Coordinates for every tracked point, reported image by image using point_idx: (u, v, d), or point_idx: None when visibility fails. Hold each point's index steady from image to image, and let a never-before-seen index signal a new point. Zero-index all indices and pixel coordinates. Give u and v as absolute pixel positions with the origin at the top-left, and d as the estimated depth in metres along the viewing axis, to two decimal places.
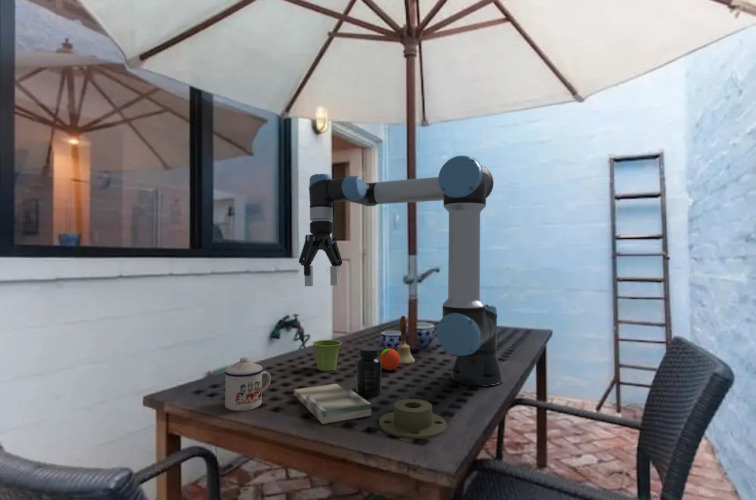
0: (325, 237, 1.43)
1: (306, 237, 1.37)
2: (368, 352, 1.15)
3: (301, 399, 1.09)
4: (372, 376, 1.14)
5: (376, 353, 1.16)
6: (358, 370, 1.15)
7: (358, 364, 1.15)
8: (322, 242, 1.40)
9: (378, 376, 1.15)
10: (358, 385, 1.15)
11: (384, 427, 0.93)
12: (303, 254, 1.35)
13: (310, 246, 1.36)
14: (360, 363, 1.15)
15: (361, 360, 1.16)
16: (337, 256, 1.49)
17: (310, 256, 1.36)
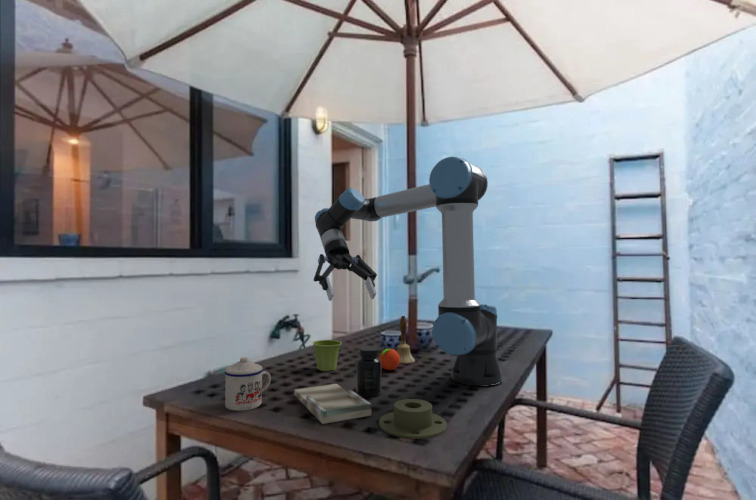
0: (342, 255, 1.37)
1: (318, 260, 1.34)
2: (368, 352, 1.15)
3: (301, 399, 1.09)
4: (372, 376, 1.14)
5: (376, 353, 1.16)
6: (358, 370, 1.15)
7: (358, 364, 1.15)
8: (336, 258, 1.34)
9: (378, 376, 1.15)
10: (358, 385, 1.15)
11: (384, 427, 0.93)
12: None
13: (321, 263, 1.31)
14: (360, 363, 1.15)
15: (361, 360, 1.16)
16: (368, 270, 1.37)
17: (324, 272, 1.30)
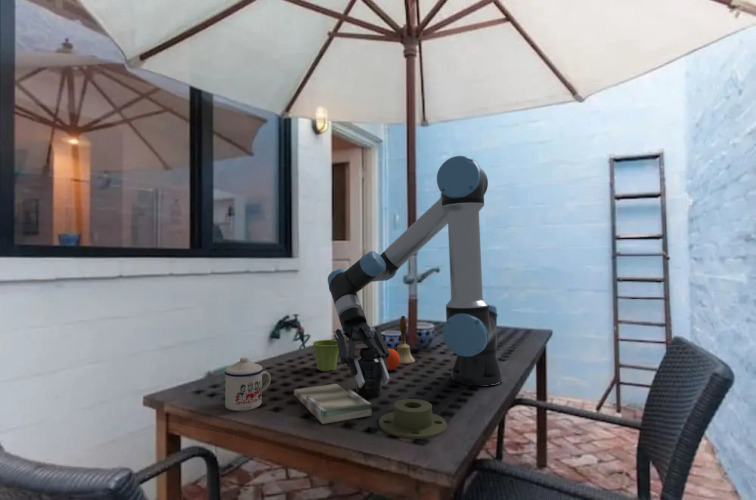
0: (359, 323, 1.26)
1: (335, 336, 1.22)
2: (368, 352, 1.15)
3: (301, 399, 1.09)
4: (372, 376, 1.14)
5: (376, 353, 1.16)
6: None
7: None
8: (354, 330, 1.22)
9: (378, 376, 1.15)
10: None
11: (384, 427, 0.93)
12: (340, 353, 1.17)
13: (342, 341, 1.19)
14: (360, 363, 1.15)
15: (361, 360, 1.16)
16: (381, 346, 1.23)
17: (350, 352, 1.18)
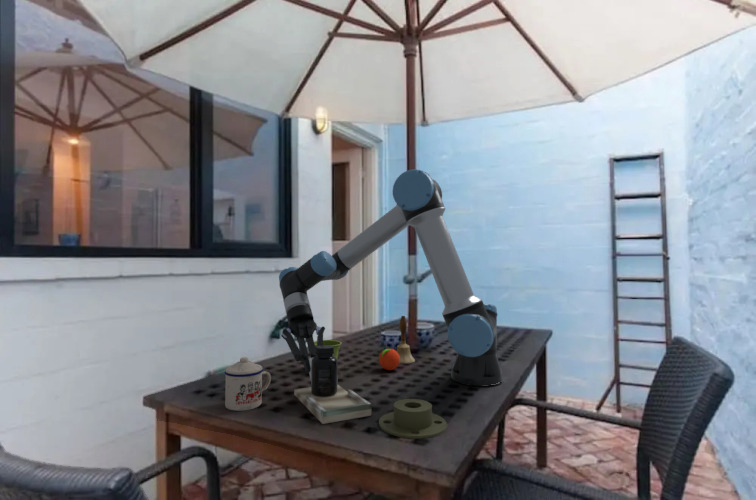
0: (307, 319, 1.28)
1: (283, 336, 1.23)
2: (323, 350, 1.10)
3: (301, 399, 1.09)
4: (326, 375, 1.09)
5: (331, 351, 1.11)
6: (312, 369, 1.10)
7: (312, 362, 1.10)
8: (300, 328, 1.24)
9: (333, 375, 1.10)
10: (312, 384, 1.10)
11: (384, 427, 0.93)
12: (293, 352, 1.20)
13: (291, 339, 1.21)
14: (314, 362, 1.10)
15: (316, 358, 1.11)
16: (318, 345, 1.23)
17: (302, 350, 1.21)
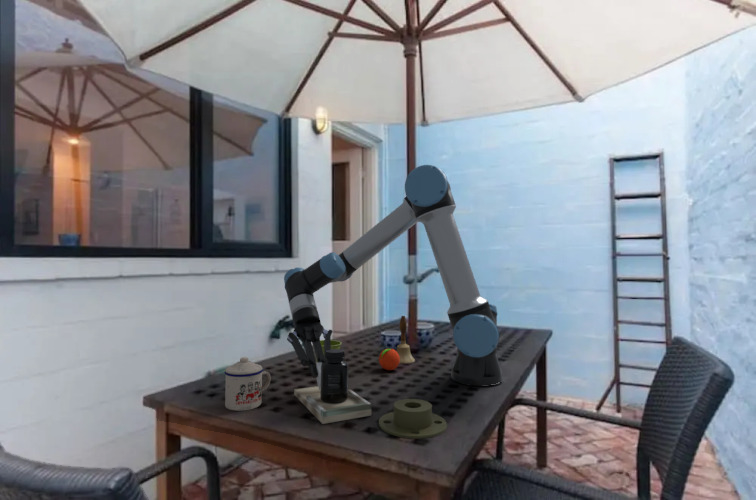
0: (313, 322, 1.23)
1: (289, 340, 1.18)
2: (333, 354, 1.05)
3: (301, 399, 1.09)
4: (336, 381, 1.04)
5: (342, 356, 1.06)
6: (322, 374, 1.06)
7: (322, 367, 1.06)
8: (307, 331, 1.19)
9: (343, 381, 1.05)
10: (321, 390, 1.05)
11: (384, 427, 0.93)
12: (300, 356, 1.15)
13: (298, 343, 1.16)
14: (324, 366, 1.05)
15: (325, 363, 1.06)
16: None
17: (309, 354, 1.15)
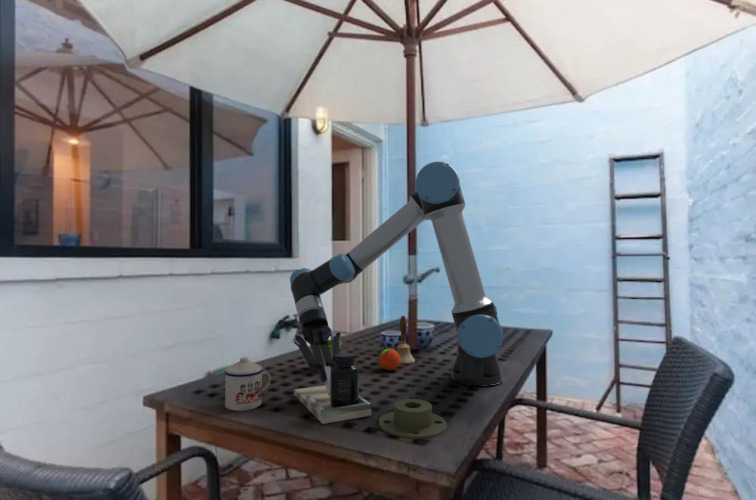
0: (321, 324, 1.19)
1: (296, 343, 1.14)
2: (343, 358, 1.01)
3: (301, 399, 1.09)
4: (346, 386, 1.00)
5: (352, 360, 1.02)
6: (331, 379, 1.02)
7: (331, 372, 1.02)
8: (314, 334, 1.15)
9: (353, 386, 1.01)
10: (331, 396, 1.01)
11: (384, 427, 0.93)
12: (307, 360, 1.11)
13: (305, 347, 1.12)
14: (333, 371, 1.01)
15: (335, 367, 1.02)
16: (334, 353, 1.14)
17: (317, 358, 1.11)
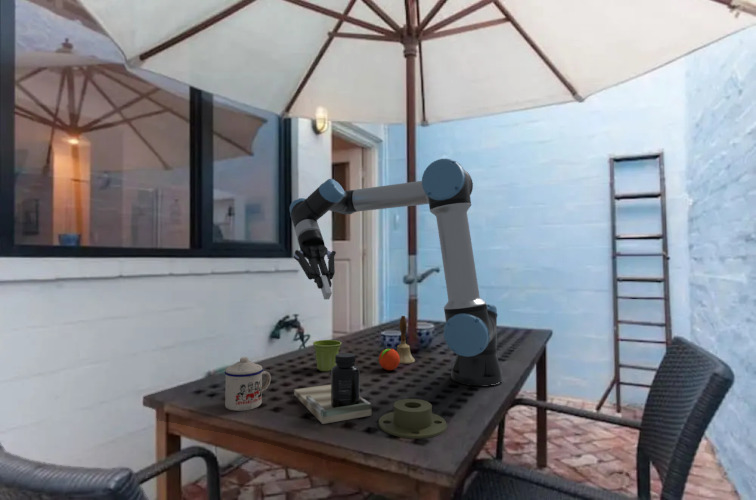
0: (318, 243, 1.31)
1: (295, 257, 1.26)
2: (343, 359, 1.01)
3: (301, 399, 1.09)
4: (347, 387, 1.00)
5: (353, 360, 1.02)
6: (332, 379, 1.01)
7: (332, 372, 1.01)
8: (312, 250, 1.27)
9: (354, 386, 1.01)
10: (332, 396, 1.01)
11: (384, 427, 0.93)
12: (306, 270, 1.23)
13: (304, 259, 1.24)
14: (334, 371, 1.01)
15: (336, 368, 1.02)
16: (330, 266, 1.26)
17: (314, 269, 1.24)
